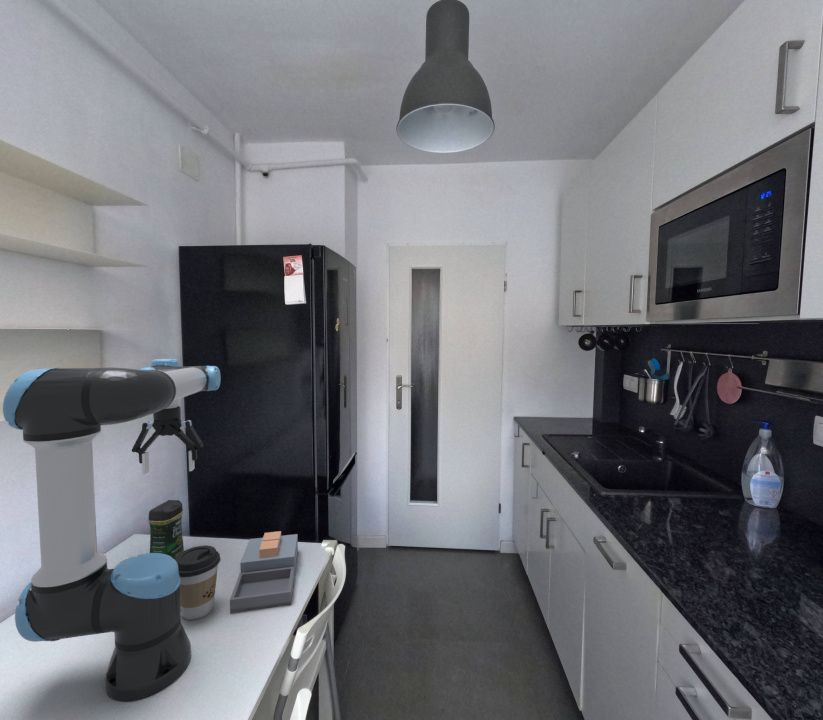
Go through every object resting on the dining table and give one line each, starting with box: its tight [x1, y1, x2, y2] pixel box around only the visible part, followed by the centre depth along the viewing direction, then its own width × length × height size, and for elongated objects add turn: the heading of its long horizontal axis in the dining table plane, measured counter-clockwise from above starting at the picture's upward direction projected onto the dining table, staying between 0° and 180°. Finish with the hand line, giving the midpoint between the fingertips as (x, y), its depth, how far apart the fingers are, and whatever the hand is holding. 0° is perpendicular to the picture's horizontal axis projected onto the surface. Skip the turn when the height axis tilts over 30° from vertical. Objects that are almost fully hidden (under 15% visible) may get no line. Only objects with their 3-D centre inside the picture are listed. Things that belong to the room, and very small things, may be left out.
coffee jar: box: [147, 499, 185, 560], centre depth 125 cm, size 10×8×19 cm
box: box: [229, 567, 295, 614], centre depth 108 cm, size 12×15×4 cm
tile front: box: [259, 540, 279, 558], centre depth 119 cm, size 5×5×2 cm
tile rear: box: [262, 530, 282, 546], centre depth 124 cm, size 5×5×2 cm
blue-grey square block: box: [239, 533, 299, 577], centre depth 122 cm, size 14×15×6 cm
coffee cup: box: [175, 545, 221, 621], centre depth 102 cm, size 11×11×15 cm
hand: (169, 471), depth 128 cm, fingers open, 13 cm apart
